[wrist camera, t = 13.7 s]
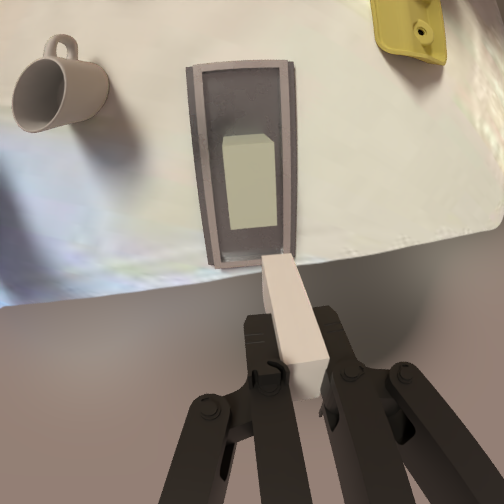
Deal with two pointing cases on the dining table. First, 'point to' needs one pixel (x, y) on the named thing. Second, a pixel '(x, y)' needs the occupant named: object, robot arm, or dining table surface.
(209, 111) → the tray
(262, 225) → the block
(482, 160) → the dining table surface
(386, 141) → the dining table surface
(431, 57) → the plastic component
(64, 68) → the mug
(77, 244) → the dining table surface
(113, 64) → the dining table surface
